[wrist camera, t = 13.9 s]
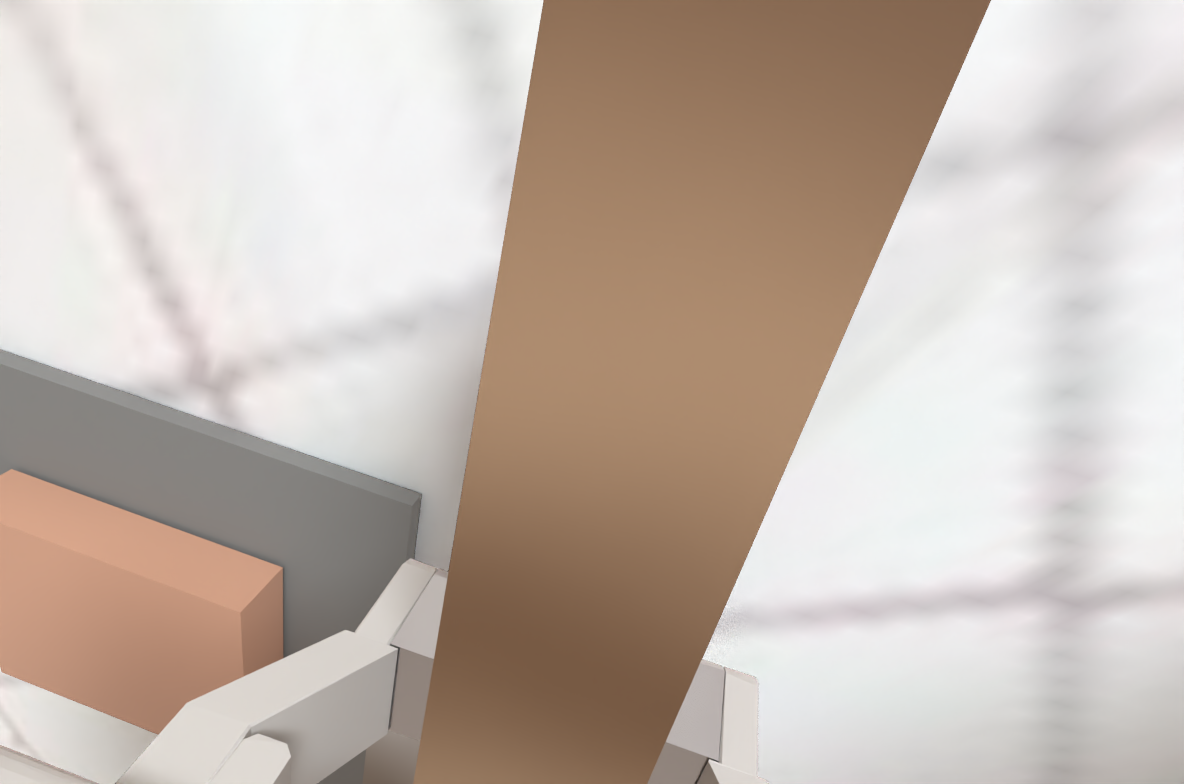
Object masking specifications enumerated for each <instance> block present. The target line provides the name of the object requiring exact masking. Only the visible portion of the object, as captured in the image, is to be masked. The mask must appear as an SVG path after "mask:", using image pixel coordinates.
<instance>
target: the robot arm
mask: <svg viewBox="0 0 1184 784" xmlns="http://www.w3.org/2000/svg"><path fill="white" fill-rule="evenodd" d="M447 578H448V571H445V570H442V569H438V568H435V567H433V566H430V565H427V564H424V563H422V562H419V561H416V560H414V559H411V558H410V559H409V560H407V561H406V562H405V563H403V564H402V565H401V567H400V568H399V570H398V571H397V573H396V574H395V575H394V577H393V578H392V580H391V581H390V583H389V584H388V585H387V587H386V588H385V590H384V591H383V592H382V594H381V595H380V597H379V598H378V600H377V601H376V602H375V604H374V605H373V607H372V608H371V609H370V611H369V612H368V614H367V615H366V617H365V618H364V619H363V621H362V622H361V624H360V625H359V626H358V628H357V629H356V631H355V632H351V631H348V630H343V631H341V632H339V633H337V634H335V635H333V636H330V637H328V638H326V639H324V640H322V641H320V642H317V643H315V644H313V645H311V646H309V647H307V648H304V649H302V650H300V651H298V652H296V653H294V654H291V655H289V656H287V657H285V658H283V659H281V660H278V661H276V662H274V663H272V664H270V665H268V666H265V667H263V668H261V669H259V670H257V671H255V672H252V673H250V674H248V675H246V676H244V677H242V678H239V679H237V680H235V681H233V682H231V683H229V684H226V685H224V686H222V687H220V688H218V689H216V690H213V691H211V692H209V693H207V694H205V695H203V696H200V697H198V698H196V699H194V700H192V701H190V702H187V703H186V704H185V705H184V707H183V708H182V709H181V710H180V711H179V712H178V713H177V714H176V716H175V717H174V718H173V719H172V720H171V721H170V722H169V723H168V725H167V726H166V727H165V728H164V729H163V730H162V731H161V732H160V734H159V735H158V736H157V737H156V738H155V739H154V740H153V742H152V743H151V744H150V745H149V746H148V747H147V748H146V749H145V751H144V752H143V753H142V754H141V755H140V756H139V757H138V758H137V760H136V761H135V762H134V763H133V764H132V765H131V766H130V767H129V769H128V770H127V771H126V772H125V773H124V774H123V775H122V776H121V778H120V779H119V780H118V781H117V782H116V783H115V784H317V783H319V782H320V781H321V780H323V779H324V778H326V777H327V776H329V775H330V774H331V773H333V772H334V771H336V770H337V769H338V768H340V767H341V766H343V765H344V764H346V763H347V762H348V761H350V760H351V759H353V758H354V757H355V756H357V755H358V754H360V753H361V752H362V751H364V750H365V749H367V748H368V747H370V746H371V745H372V744H374V743H375V742H377V741H378V740H379V739H381V738H382V737H384V736H385V735H387V733H388V730H390V731H393V732H396V733H399V734H401V735H404V736H407V737H410V738H413V739H416V740H419V741H420V740H421V734H422V728H423V722H424V716H425V710H426V704H427V698H428V692H429V686H430V680H431V674H432V668H433V662H434V656H435V650H436V644H437V638H438V632H439V626H440V620H441V614H442V608H443V602H444V596H445V590H446V584H447ZM758 699H759V683H758V681H757V679H756V677H754V676H751V675H748V674H745V673H742V672H739V671H736V670H733V669H730V668H727V667H722V666H721V665H718V664H715V663H712V662H709V661H706V660H703V659H702V660H701V662H700V665H699V667H698V669H697V671H696V674H695V676H694V678H693V681H692V683H691V685H690V687H689V690H688V692H687V694H686V697H685V699H684V701H683V703H682V706H681V708H680V710H679V712H678V715H677V717H676V719H675V722H674V724H673V726H672V728H671V731H670V733H669V735H668V738H667V740H666V742H665V744H664V747H663V749H662V751H661V754H660V756H659V758H658V760H657V763H656V765H655V767H654V769H653V772H652V774H651V776H650V779H649V781H648V783H647V784H769V782H768V781H767V780H765V779H762V778H760V777H758ZM0 784H98V783H96V782H93V781H91V780H88V779H86V778H83V777H81V776H78V775H75V774H73V773H70V772H68V771H65V770H63V769H60V768H58V767H55V766H53V765H50V764H47V763H45V762H42V761H40V760H37V759H35V758H32V757H30V756H27V755H25V754H22V753H20V752H17V751H14V750H12V749H9V748H7V747H4V746H2V745H0Z"/></svg>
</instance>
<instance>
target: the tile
mask: <svg viewBox="0 0 1184 784" xmlns="http://www.w3.org/2000/svg"><path fill="white" fill-rule="evenodd" d="M281 659H283V567H280V566H277V565H275V564H272V563H269V562H266V561H264V560H261V559H258V558H255V557H253V556H250V555H247V554H244V553H242V552H239V551H236V550H233V549H231V548H228V547H225V546H222V545H220V544H217V543H214V542H211V541H209V540H206V539H203V538H200V537H198V536H195V535H192V534H189V533H187V532H184V531H181V530H178V529H176V528H173V527H170V526H167V525H165V524H162V523H159V522H156V521H153V520H151V519H148V518H145V517H142V516H140V515H137V514H134V513H131V512H129V511H126V510H123V509H120V508H118V507H115V506H112V505H109V504H107V503H104V502H101V501H98V500H96V499H93V498H90V497H87V496H85V495H82V494H79V493H76V492H74V491H71V490H68V489H65V488H63V487H60V486H57V485H54V484H52V483H49V482H46V481H43V480H41V479H38V478H35V477H32V476H30V475H27V474H24V473H21V472H19V471H16V470H13V469H11V470H9V471H7V472H5V473H3V474H2V475H0V667H1V671H2V672H3V673H5V674H8V675H10V676H13V677H15V678H18V679H20V680H23V681H25V682H28V683H30V684H33V685H35V686H38V687H40V688H43V689H45V690H48V691H50V692H53V693H56V694H58V695H61V696H63V697H66V698H68V699H71V700H73V701H76V702H78V703H81V704H83V705H86V706H88V707H91V708H93V709H96V710H98V711H101V712H103V713H106V714H108V715H111V716H113V717H116V718H118V719H121V720H123V721H126V722H128V723H131V724H133V725H136V726H138V727H141V728H143V729H146V730H148V731H151V732H153V733H156V734H158V735H159V734H160V732H161V731H162V730H163V729H164V728H165V727H166V726H167V725H168V723H169V722H170V721H171V720H172V719H173V718H174V717H175V716H176V714H177V713H178V712H179V711H180V710H181V709H182V708H183V707H184V705H185V704H186V703H187V702H190V701H192V700H194V699H196V698H198V697H200V696H203V695H205V694H207V693H209V692H211V691H213V690H216V689H218V688H220V687H222V686H224V685H226V684H229V683H231V682H233V681H235V680H237V679H239V678H242V677H244V676H246V675H248V674H250V673H252V672H255V671H257V670H259V669H261V668H263V667H265V666H268V665H270V664H272V663H274V662H276V661H278V660H281Z"/></svg>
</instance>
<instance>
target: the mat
mask: <svg viewBox="0 0 1184 784" xmlns="http://www.w3.org/2000/svg"><path fill="white" fill-rule="evenodd" d="M11 469H13V470H16V471H19V472H21V473H24V474H27V475H30V476H32V477H35V478H38V479H41V480H43V481H46V482H49V483H52V484H54V485H57V486H60V487H63V488H65V489H68V490H71V491H74V492H76V493H79V494H82V495H85V496H87V497H90V498H93V499H96V500H98V501H101V502H104V503H107V504H109V505H112V506H115V507H118V508H120V509H123V510H126V511H129V512H131V513H134V514H137V515H140V516H142V517H145V518H148V519H151V520H153V521H156V522H159V523H162V524H165V525H167V526H170V527H173V528H176V529H178V530H181V531H184V532H187V533H189V534H192V535H195V536H198V537H200V538H203V539H206V540H209V541H211V542H214V543H217V544H220V545H222V546H225V547H228V548H231V549H233V550H236V551H239V552H242V553H244V554H247V555H250V556H253V557H255V558H258V559H261V560H264V561H266V562H269V563H272V564H275V565H277V566H280V567H283V658H285V657H287V656H289V655H291V654H294V653H296V652H298V651H300V650H302V649H304V648H307V647H309V646H311V645H313V644H315V643H317V642H320V641H322V640H324V639H326V638H328V637H330V636H333V635H335V634H337V633H339V632H341V631H343V630H348V631H351V632H355V631H356V629H357V628H358V626H359V625H360V624H361V622H362V621H363V619H364V618H365V617H366V615H367V614H368V612H369V611H370V609H371V608H372V607H373V605H374V604H375V602H376V601H377V600H378V598H379V597H380V595H381V594H382V592H383V591H384V590H385V588H386V587H387V585H388V584H389V583H390V581H391V580H392V578H393V577H394V575H395V574H396V573H397V571H398V570H399V568H400V567H401V565H402V564H403V563H405V562H406V561H407V560H409V559H410V558H411V559H414V554H415V545H416V537H417V529H418V521H419V513H420V504H421V496H422V494H420V493H417V492H414V491H412V490H409V489H406V488H403V487H400V486H397V485H394V484H391V483H388V482H385V481H382V480H379V479H377V478H374V477H371V476H368V475H365V474H362V473H359V472H356V471H353V470H350V469H347V468H344V467H342V466H339V465H336V464H333V463H330V462H327V461H324V460H321V459H318V458H315V457H312V456H309V455H307V454H304V453H301V452H298V451H295V450H292V449H289V448H286V447H283V446H280V445H277V444H274V443H272V442H269V441H266V440H263V439H260V438H257V437H254V436H251V435H248V434H245V433H242V432H239V431H237V430H234V429H231V428H228V427H225V426H222V425H219V424H216V423H213V422H210V421H207V420H204V419H202V418H199V417H196V416H193V415H190V414H187V413H184V412H181V411H178V410H175V409H172V408H169V407H167V406H164V405H161V404H158V403H155V402H152V401H149V400H146V399H143V398H140V397H137V396H134V395H132V394H129V393H126V392H123V391H120V390H117V389H114V388H111V387H108V386H105V385H102V384H99V383H97V382H94V381H91V380H88V379H85V378H82V377H79V376H76V375H73V374H70V373H67V372H64V371H62V370H59V369H56V368H53V367H50V366H47V365H44V364H41V363H38V362H35V361H32V360H30V359H27V358H24V357H21V356H18V355H15V354H12V353H9V352H6V351H3V350H0V475H2V474H3V473H5V472H7V471H9V470H11ZM365 756H366V749H365V750H364V751H362V752H361V753H360V754H358V755H357V756H355V757H354V758H353V759H351V760H350V761H348V762H347V763H346V764H344V765H343V766H341V767H340V768H338V769H337V770H336V771H334V772H333V773H331V774H330V775H329V776H327V777H326V778H324V779H323V780H321V781H320V782H319V783H317V784H363V775H364V766H365Z"/></svg>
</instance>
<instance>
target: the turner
mask: <svg viewBox="0 0 1184 784" xmlns="http://www.w3.org/2000/svg"><path fill="white" fill-rule="evenodd" d="M990 1H991V0H544V2H543V8H542V14H541V20H540V26H539V32H538V38H537V44H536V50H535V56H534V62H533V68H532V74H531V80H530V86H529V92H528V98H527V104H526V110H525V116H524V122H523V128H522V134H521V140H520V146H519V152H518V158H517V164H516V170H515V176H514V182H513V188H512V194H511V200H510V206H509V212H508V218H507V224H506V230H505V236H504V242H503V248H502V254H501V260H500V266H499V272H498V278H497V284H496V290H495V296H494V302H493V308H492V314H491V320H490V326H489V332H488V338H487V344H486V350H485V356H484V362H483V368H482V374H481V380H480V386H479V392H478V398H477V404H476V410H475V416H474V422H473V428H472V434H471V440H470V446H469V452H468V458H467V464H466V470H465V476H464V482H463V488H462V494H461V500H460V506H459V512H458V518H457V524H456V530H455V536H454V542H453V548H452V554H451V560H450V566H449V572H448V578H447V584H446V590H445V596H444V602H443V608H442V614H441V620H440V626H439V632H438V638H437V644H436V650H435V656H434V662H433V668H432V674H431V680H430V686H429V692H428V698H427V704H426V710H425V716H424V722H423V728H422V734H421V740H420V741H419V740H416V739H413V738H410V737H407V736H404V735H401V734H399V733H396V732H393V731H390V730H388V733H387V735H385V736H384V737H382V738H381V739H379V740H378V741H377V742H375V743H374V744H372V745H371V746H370V747H368V748H367V749H366V756H365V766H364V775H363V784H647V783H648V781H649V779H650V776H651V774H652V772H653V769H654V767H655V765H656V763H657V760H658V758H659V756H660V754H661V751H662V749H663V747H664V744H665V742H666V740H667V738H668V735H669V733H670V731H671V728H672V726H673V724H674V722H675V719H676V717H677V715H678V712H679V710H680V708H681V706H682V703H683V701H684V699H685V697H686V694H687V692H688V690H689V687H690V685H691V683H692V681H693V678H694V676H695V674H696V671H697V669H698V667H699V665H700V662H701V660H702V658H703V655H704V653H705V651H706V649H707V646H708V644H709V642H710V640H711V637H712V635H713V633H714V630H715V628H716V626H717V624H718V621H719V619H720V617H721V614H722V612H723V610H724V608H725V605H726V603H727V601H728V598H729V596H730V594H731V592H732V589H733V587H734V585H735V583H736V580H737V578H738V576H739V573H740V571H741V569H742V567H743V564H744V562H745V560H746V557H747V555H748V553H749V551H750V548H751V546H752V544H753V541H754V539H755V537H756V535H757V532H758V530H759V528H760V526H761V523H762V521H763V519H764V516H765V514H766V512H767V510H768V507H769V505H770V503H771V500H772V498H773V496H774V494H775V491H776V489H777V487H778V485H779V482H780V480H781V478H782V475H783V473H784V471H785V469H786V466H787V464H788V462H789V459H790V457H791V455H792V453H793V450H794V448H795V446H796V443H797V441H798V439H799V437H800V434H801V432H802V430H803V428H804V425H805V423H806V421H807V418H808V416H809V414H810V412H811V409H812V407H813V405H814V402H815V400H816V398H817V396H818V393H819V391H820V389H821V386H822V384H823V382H824V380H825V377H826V375H827V373H828V371H829V368H830V366H831V364H832V361H833V359H834V357H835V355H836V352H837V350H838V348H839V345H840V343H841V341H842V339H843V336H844V334H845V332H846V329H847V327H848V325H849V323H850V320H851V318H852V316H853V314H854V311H855V309H856V307H857V304H858V302H859V300H860V298H861V295H862V293H863V291H864V288H865V286H866V284H867V282H868V279H869V277H870V275H871V272H872V270H873V268H874V266H875V263H876V261H877V259H878V257H879V254H880V252H881V250H882V247H883V245H884V243H885V241H886V238H887V236H888V234H889V231H890V229H891V227H892V225H893V222H894V220H895V218H896V215H897V213H898V211H899V209H900V206H901V204H902V202H903V200H904V197H905V195H906V193H907V190H908V188H909V186H910V184H911V181H912V179H913V177H914V174H915V172H916V170H917V168H918V165H919V163H920V161H921V158H922V156H923V154H924V152H925V149H926V147H927V145H928V143H929V140H930V138H931V136H932V133H933V131H934V129H935V127H936V124H937V122H938V120H939V117H940V115H941V113H942V111H943V108H944V106H945V104H946V101H947V99H948V97H949V95H950V92H951V90H952V88H953V86H954V83H955V81H956V79H957V76H958V74H959V72H960V70H961V67H962V65H963V63H964V60H965V58H966V56H967V54H968V51H969V49H970V47H971V44H972V42H973V40H974V38H975V35H976V33H977V31H978V29H979V26H980V24H981V22H982V19H983V17H984V15H985V13H986V10H987V8H988V6H989V3H990Z"/></svg>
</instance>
